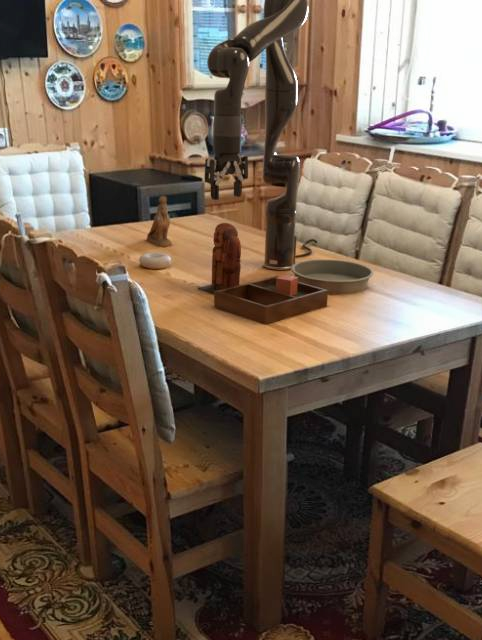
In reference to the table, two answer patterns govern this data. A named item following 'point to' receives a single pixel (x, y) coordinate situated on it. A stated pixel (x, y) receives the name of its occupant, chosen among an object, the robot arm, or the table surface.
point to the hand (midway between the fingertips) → (226, 197)
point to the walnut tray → (269, 300)
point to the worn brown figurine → (160, 224)
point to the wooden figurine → (226, 257)
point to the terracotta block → (287, 284)
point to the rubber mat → (208, 289)
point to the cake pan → (333, 275)
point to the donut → (155, 260)
